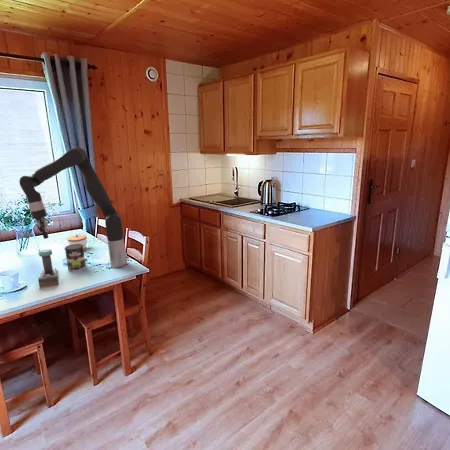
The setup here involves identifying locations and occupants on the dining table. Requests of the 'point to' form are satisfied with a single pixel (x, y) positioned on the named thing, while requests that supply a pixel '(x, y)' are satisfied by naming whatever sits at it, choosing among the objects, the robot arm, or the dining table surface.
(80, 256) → the coffee can
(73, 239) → the lidded bowl
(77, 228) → the dining table surface
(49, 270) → the knob
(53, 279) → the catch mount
